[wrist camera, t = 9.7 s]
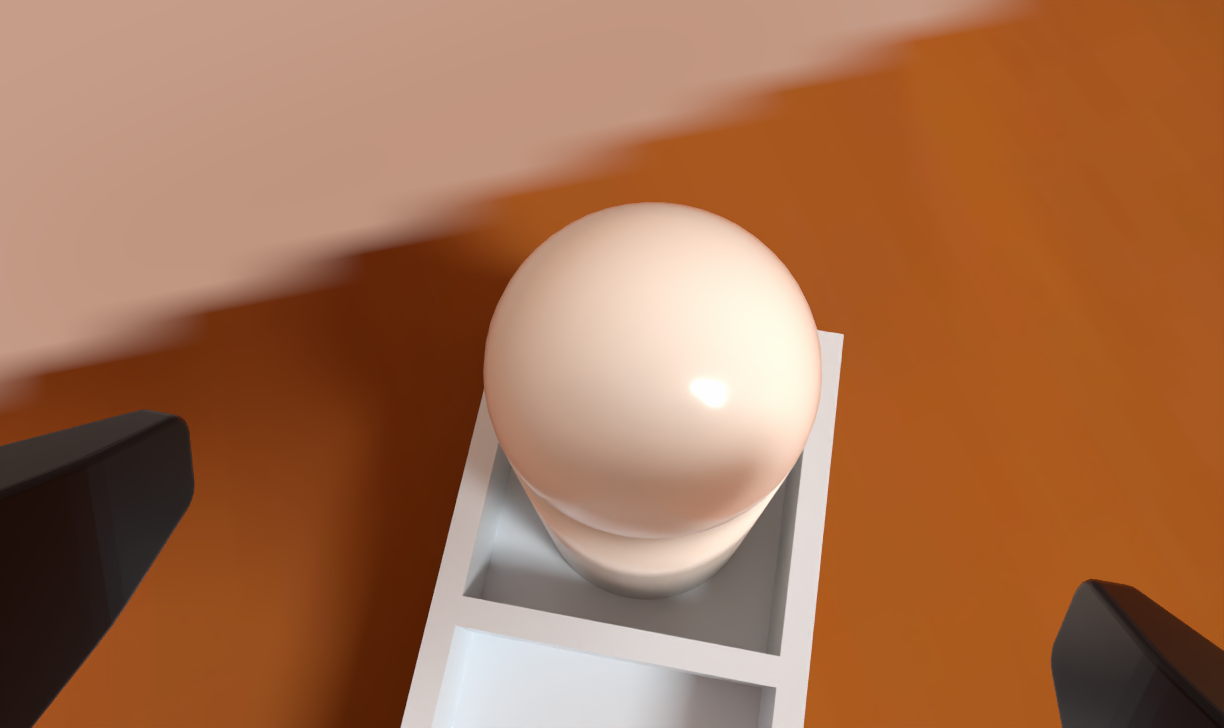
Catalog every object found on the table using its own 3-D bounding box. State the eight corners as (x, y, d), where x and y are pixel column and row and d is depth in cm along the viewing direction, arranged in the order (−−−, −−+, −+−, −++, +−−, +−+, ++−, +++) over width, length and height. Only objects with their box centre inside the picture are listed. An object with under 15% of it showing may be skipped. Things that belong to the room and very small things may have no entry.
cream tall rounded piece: (674, 644, 20) (712, 591, 10) (500, 517, 21) (370, 349, 11) (790, 467, 21) (932, 256, 11) (621, 356, 23) (607, 71, 12)
